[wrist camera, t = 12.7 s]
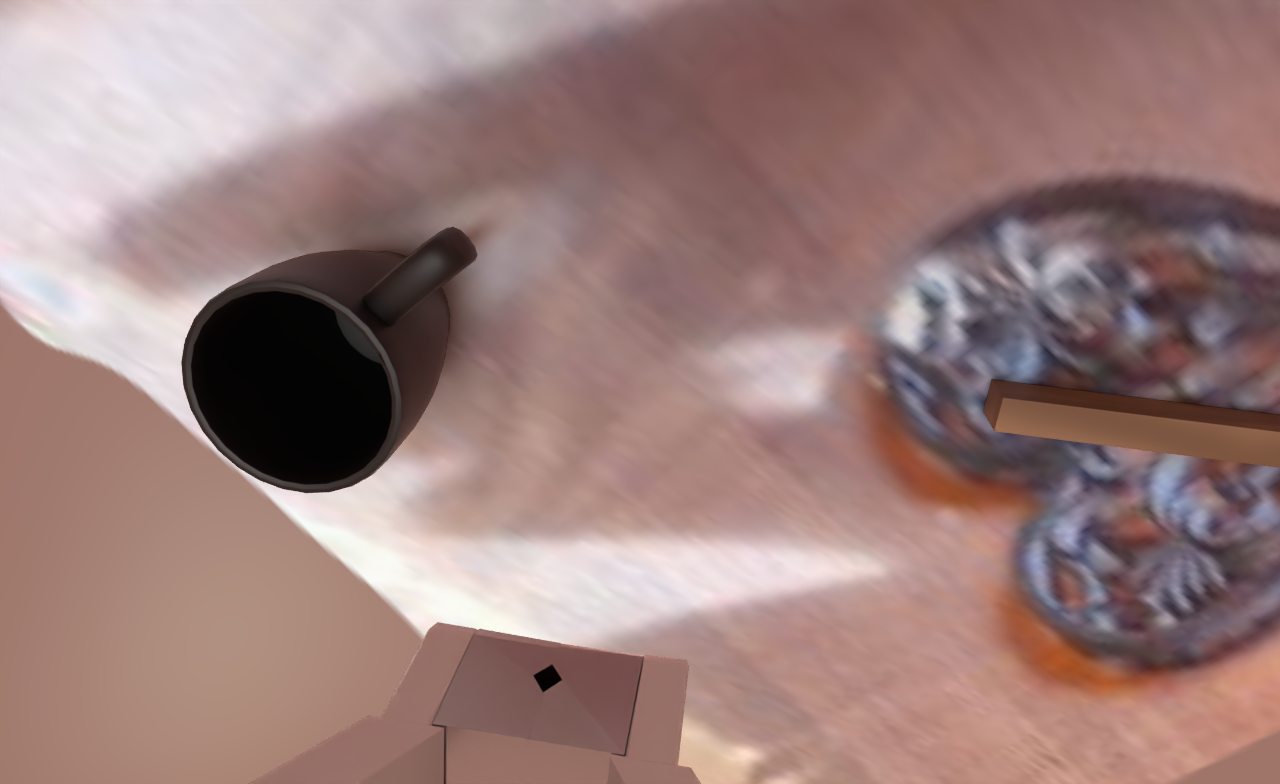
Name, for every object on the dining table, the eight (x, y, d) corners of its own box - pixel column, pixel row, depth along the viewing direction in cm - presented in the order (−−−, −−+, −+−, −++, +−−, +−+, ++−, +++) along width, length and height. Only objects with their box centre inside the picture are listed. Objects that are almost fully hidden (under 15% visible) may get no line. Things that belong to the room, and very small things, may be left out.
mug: (581, 282, 39) (530, 359, 31) (389, 427, 43) (295, 532, 34) (455, 125, 37) (362, 160, 29) (266, 292, 41) (134, 367, 33)
